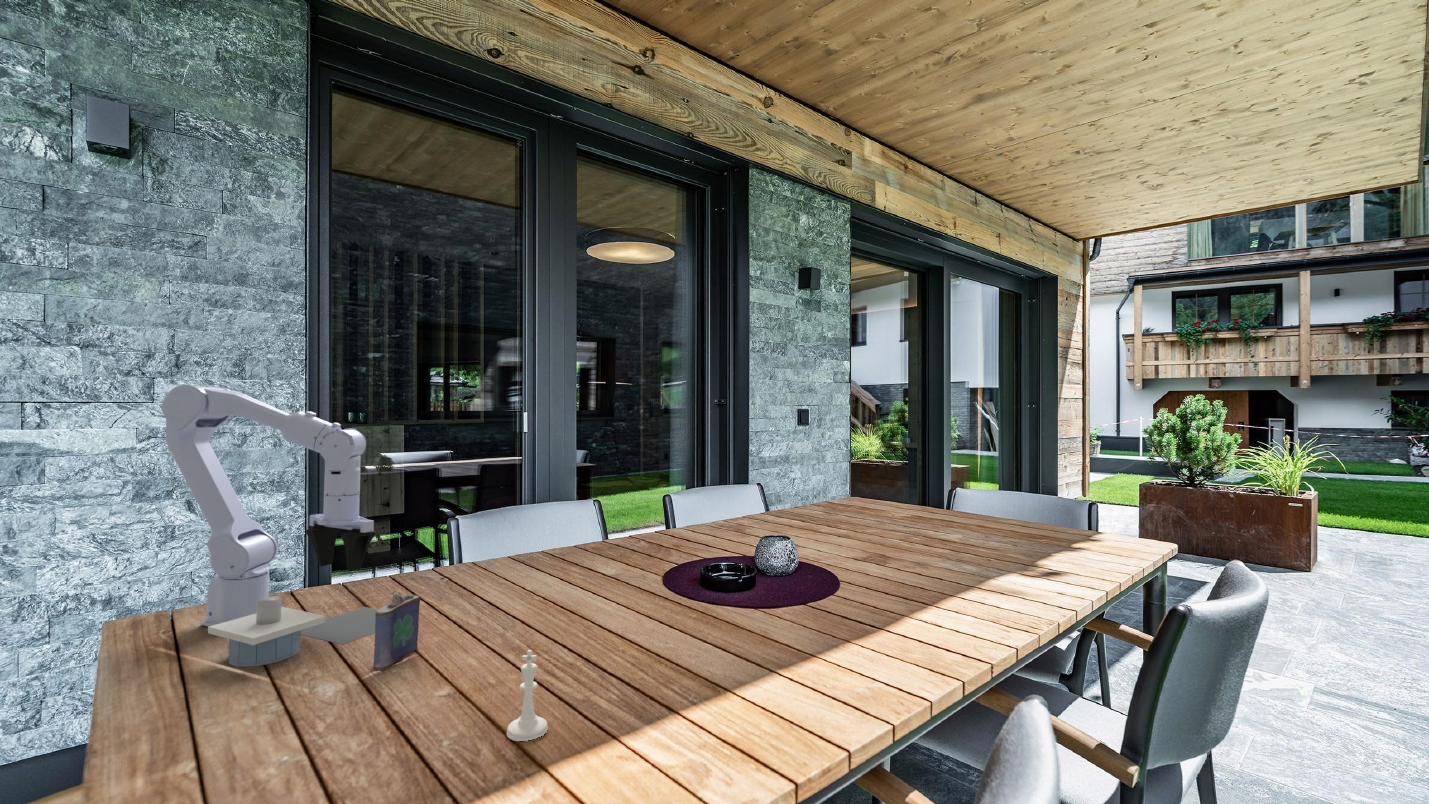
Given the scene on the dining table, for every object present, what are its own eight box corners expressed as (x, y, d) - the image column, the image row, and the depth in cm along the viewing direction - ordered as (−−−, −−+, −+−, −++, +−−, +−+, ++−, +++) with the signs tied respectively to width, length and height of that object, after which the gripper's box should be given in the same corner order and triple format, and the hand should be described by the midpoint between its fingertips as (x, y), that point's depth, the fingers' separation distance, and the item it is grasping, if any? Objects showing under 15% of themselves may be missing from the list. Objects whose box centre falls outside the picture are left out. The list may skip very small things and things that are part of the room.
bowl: (214, 662, 95) (216, 633, 95) (275, 642, 103) (276, 615, 103) (252, 673, 91) (253, 642, 92) (312, 651, 100) (312, 623, 100)
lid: (207, 633, 95) (208, 603, 95) (281, 612, 105) (282, 585, 105) (253, 645, 91) (254, 614, 91) (325, 622, 101) (326, 594, 101)
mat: (286, 633, 107) (286, 631, 107) (364, 608, 121) (364, 606, 121) (342, 646, 102) (343, 644, 102) (417, 619, 116) (417, 617, 116)
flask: (384, 672, 93) (386, 600, 93) (366, 670, 93) (368, 599, 93) (422, 649, 102) (423, 584, 102) (405, 648, 102) (407, 583, 103)
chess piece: (511, 721, 79) (514, 643, 79) (551, 721, 80) (553, 643, 80) (502, 742, 74) (504, 659, 74) (543, 741, 75) (546, 658, 75)
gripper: (294, 493, 113) (291, 567, 113) (349, 499, 108) (347, 577, 108) (330, 489, 120) (328, 559, 120) (384, 495, 114) (382, 568, 114)
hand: (339, 567), depth 114 cm, fingers open, 7 cm apart
